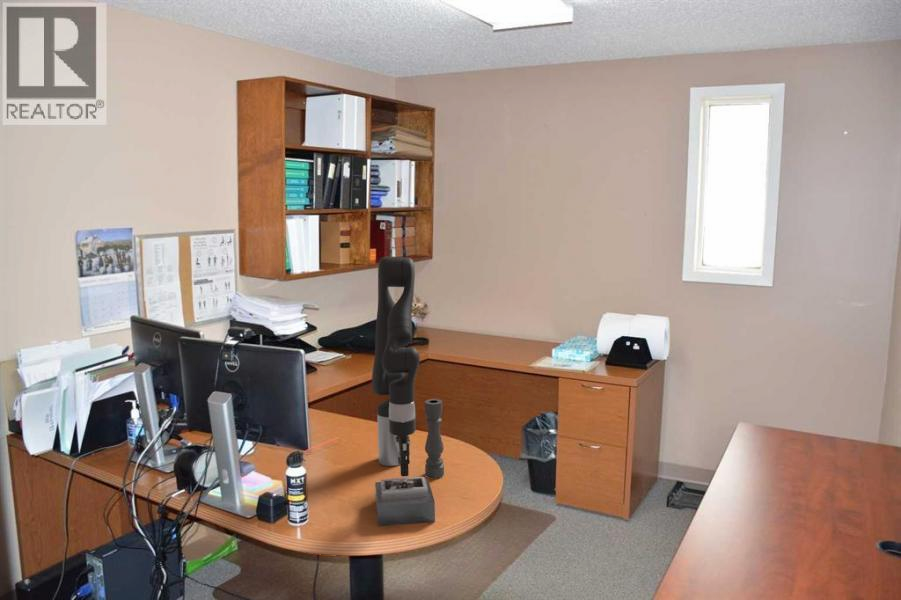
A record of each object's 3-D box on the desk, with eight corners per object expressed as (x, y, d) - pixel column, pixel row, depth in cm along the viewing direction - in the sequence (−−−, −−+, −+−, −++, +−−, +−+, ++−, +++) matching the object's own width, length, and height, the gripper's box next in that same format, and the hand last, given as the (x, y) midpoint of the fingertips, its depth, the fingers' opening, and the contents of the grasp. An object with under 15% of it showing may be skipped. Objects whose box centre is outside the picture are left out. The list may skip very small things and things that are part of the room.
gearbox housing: (375, 501, 214) (374, 474, 212) (428, 497, 216) (427, 470, 215) (378, 526, 198) (377, 497, 197) (434, 521, 200) (434, 493, 199)
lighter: (418, 510, 207) (418, 478, 206) (417, 515, 204) (416, 483, 202) (391, 509, 208) (390, 477, 206) (389, 515, 205) (388, 482, 203)
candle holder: (441, 479, 229) (440, 405, 224) (423, 478, 230) (421, 404, 226) (445, 471, 235) (444, 399, 230) (427, 470, 236) (426, 398, 232)
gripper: (387, 409, 209) (388, 461, 211) (390, 425, 195) (392, 481, 197) (412, 407, 210) (413, 459, 212) (417, 423, 196) (418, 479, 198)
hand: (403, 469), depth 205 cm, fingers open, 8 cm apart
